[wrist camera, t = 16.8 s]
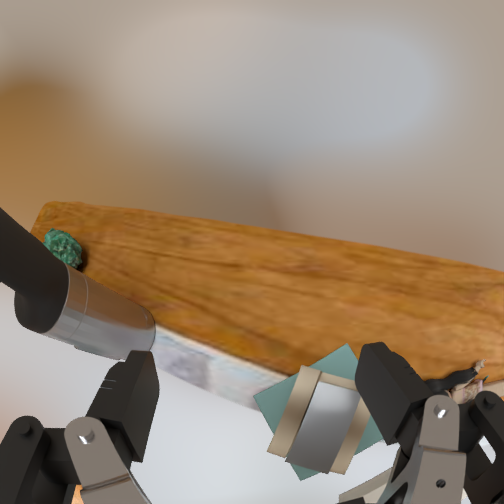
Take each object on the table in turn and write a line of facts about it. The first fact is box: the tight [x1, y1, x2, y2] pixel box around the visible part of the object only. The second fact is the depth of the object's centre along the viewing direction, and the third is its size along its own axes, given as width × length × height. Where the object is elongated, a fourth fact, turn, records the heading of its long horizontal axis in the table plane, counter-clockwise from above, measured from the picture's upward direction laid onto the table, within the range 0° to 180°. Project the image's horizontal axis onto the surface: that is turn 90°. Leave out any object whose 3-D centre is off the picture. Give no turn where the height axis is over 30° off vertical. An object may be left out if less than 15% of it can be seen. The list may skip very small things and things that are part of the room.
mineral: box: [43, 228, 83, 269], centre depth 48 cm, size 18×16×10 cm
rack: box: [267, 365, 371, 475], centre depth 25 cm, size 10×9×6 cm
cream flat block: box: [339, 467, 467, 503], centre depth 17 cm, size 16×10×4 cm, turn 117°
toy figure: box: [424, 359, 504, 404], centre depth 20 cm, size 7×6×15 cm
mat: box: [253, 344, 383, 480], centre depth 27 cm, size 13×13×1 cm
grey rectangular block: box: [285, 381, 361, 474], centre depth 20 cm, size 6×3×14 cm, turn 159°
